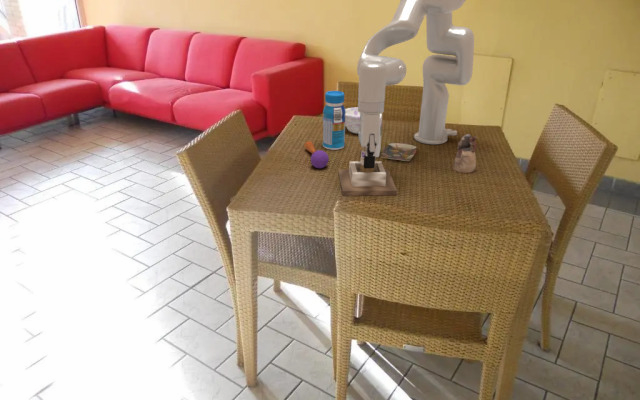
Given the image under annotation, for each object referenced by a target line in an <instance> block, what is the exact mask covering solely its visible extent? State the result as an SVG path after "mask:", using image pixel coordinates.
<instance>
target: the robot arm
mask: <svg viewBox="0 0 640 400" xmlns="http://www.w3.org/2000/svg"><path fill="white" fill-rule="evenodd" d="M465 2H466V0H400V1H399V3H398V6H397V8H396V10H395V12H394V15H393V17H392V18H391V21H390V23H388V24H387V25H385V26H383V27H382V28H381V29H379V30H378V31H377V32H375V33H374V34H373V35H372V36H371V37H370V38H369V39H368V41H367V42H366V43H365V45H364V47H363V49H362V51H361V53H360V56H359V59H358V61H357V66H356V72H357V75H358V95H357V98H358V99H357V100H358V101H357V107H358V112H360V121H359V134H358V141H359V144H360V146H361V148H362V147H364V146H365V155H364V168H374V166H375V161H376V157H375V147H377V146H378V142H379V126H380V114H381V113H382V114H383V113H384V111H385V100H386V99H385V98H386V87H387V86H394V85H398V84H400V83H401V82H402V81H403V80H404V79H405V76H406V73H407V66H406V63H405V62H404V61H403V60H402V59H400V58H397V57H390V56H384V55H380V53H382V52H383V51H384V50H386V49H388V48H390V47H392V46H395V45H398V44H401V43H404V42H407V41H410V40H412V39H414V38H415V37H416V36H417V35H418V32H419V30H420V29H421V28H420V27H421V26H422V23H423V21H424V19H425V18H426V19H425V20H426V23H425V24H426V28H425V29H426V47H427V50H428V51H429V52H430V53H433V54H431V55H428V56H427V57H426V58H425V59H424V61H423V63H422V82H423V83H422V85H423V86H422V96H421V97H422V98H421V105H420V106H421V107H420V117H419V126H418V127H419V128H418V131H417V132H415V133H414V135H413V137H414V140H415V141H417V142H418V143H422V144H426V145H441V144H445V143H447V142H448V136H457V135H458V130H453V129H451V128H446V122H447V121H446V120H447V114H448V103H449V98H450V95H449V94H450V93H449V89H448V87H447V86H446V84H448V85H453V86H454V85H455V86H465V85H467V84H469V83H470V82H471V79H472V76H473V70H474V68H473V67H474V56H475V55H474V53H475V52H474V51H475V34H474V33H473V31H472V29H471V28H469V27H466V26H456V25H454V24H453V12H454V11H457V10H459V9H460V8H461V7H462V6H463V5H464V4H465ZM367 144H369V145H367ZM368 148H369V150H368Z"/></svg>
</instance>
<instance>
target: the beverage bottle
mask: <svg viewBox="0 0 640 400" xmlns="http://www.w3.org/2000/svg"><path fill="white" fill-rule="evenodd" d="M324 96H325V97H324V98H325V99H324V100H325V105H324V108H323V110H322V113H323V116H322V122H323V123H322V131H323V132H322V147H323V148H324V149H327V150H331V151H335V150H336V151H337V150H341V149H344V147H346V144H345V137H346V136H345V135H346V134H345V133H346V126H345V122H346V117H345V114H346V110H345V109H346V107H345V106H344V102H345V93H344V92H343V91H341V90H329V91H326V92H325V94H324Z"/></svg>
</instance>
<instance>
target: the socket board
mask: <svg viewBox="0 0 640 400" xmlns="http://www.w3.org/2000/svg"><path fill="white" fill-rule="evenodd" d="M348 162H349V164H348V168H346V169H343V168H342V169H338V177H339V181H340V188H341V192H342V197H344V196H347V197H348V196H353V197H354V196H356V197H357V196H397V195H398V189H397V187H396V185H395V182H394V179H393V176H392V175H391V173H390V171H389V168H385V167H384V165H383V162H382V161H381V160H380V161H379V160H375V167H374V172H360V169H361V160H359V161H357V160H356V161H354V160H353V161H348Z"/></svg>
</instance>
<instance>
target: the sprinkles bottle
mask: <svg viewBox="0 0 640 400" xmlns="http://www.w3.org/2000/svg"><path fill="white" fill-rule="evenodd" d="M367 145H369V144H367ZM368 150H369V148H368ZM364 155H365V146H364V147H362V146H361V153H360V161H361V169H360V172H374V168H364ZM375 155H376V147H375ZM374 167H375V166H374Z"/></svg>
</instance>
